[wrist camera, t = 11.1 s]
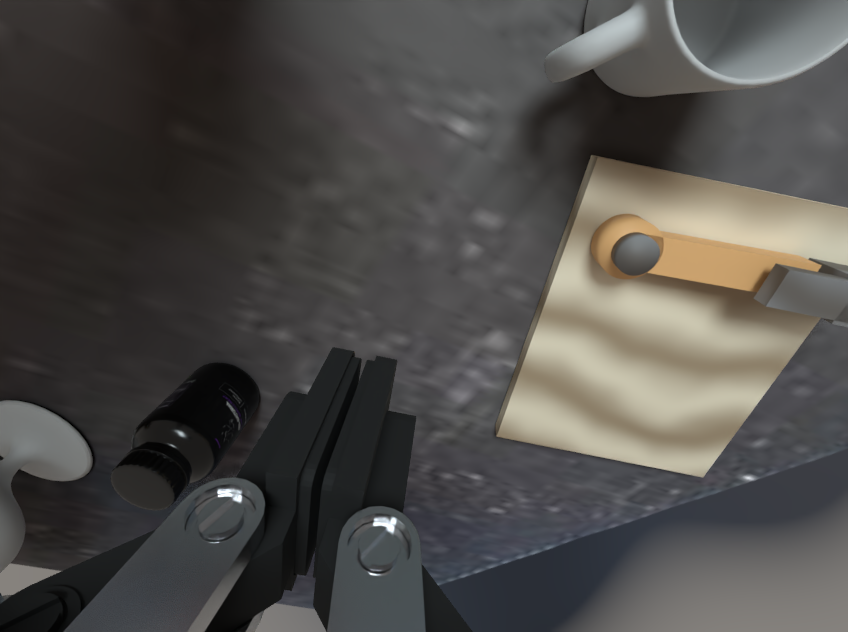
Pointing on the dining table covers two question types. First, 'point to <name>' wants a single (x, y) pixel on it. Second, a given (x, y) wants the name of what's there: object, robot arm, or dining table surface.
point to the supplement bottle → (186, 436)
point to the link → (694, 256)
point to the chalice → (33, 462)
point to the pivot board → (669, 321)
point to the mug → (700, 43)
